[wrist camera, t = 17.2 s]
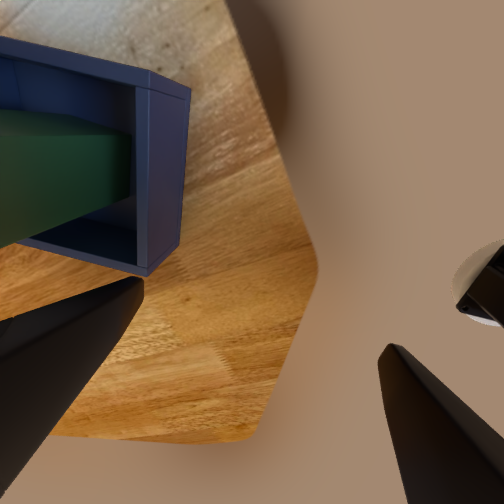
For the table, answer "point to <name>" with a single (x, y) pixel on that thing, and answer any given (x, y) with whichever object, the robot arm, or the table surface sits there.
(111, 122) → the dark blue open container
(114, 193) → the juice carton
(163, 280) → the table surface
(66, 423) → the table surface
